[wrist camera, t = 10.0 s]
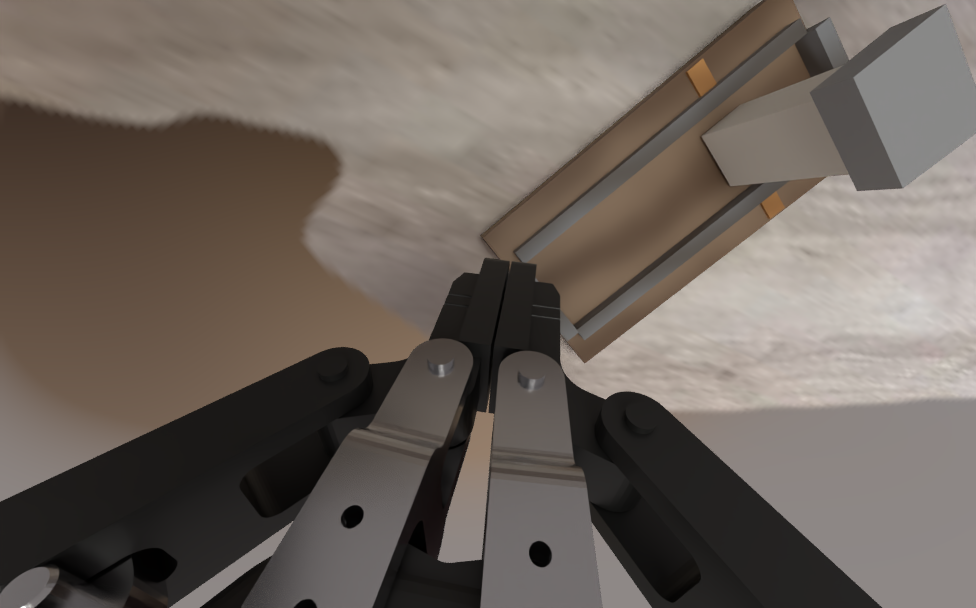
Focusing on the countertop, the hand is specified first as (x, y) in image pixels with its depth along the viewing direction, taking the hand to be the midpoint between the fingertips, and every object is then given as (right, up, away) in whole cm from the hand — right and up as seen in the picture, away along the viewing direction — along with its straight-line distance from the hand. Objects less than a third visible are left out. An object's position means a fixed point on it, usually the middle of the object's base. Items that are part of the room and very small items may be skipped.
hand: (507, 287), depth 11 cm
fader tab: (+16, +10, +13) cm, 23 cm away
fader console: (+12, +8, +16) cm, 22 cm away
